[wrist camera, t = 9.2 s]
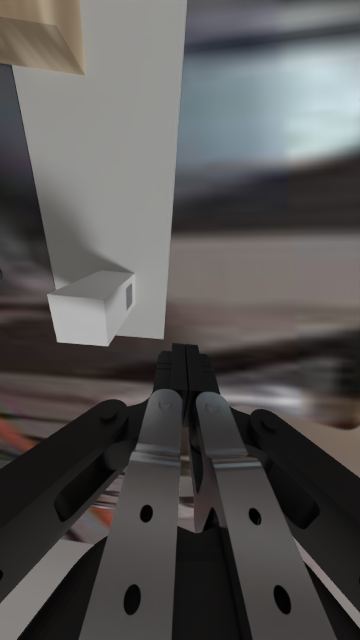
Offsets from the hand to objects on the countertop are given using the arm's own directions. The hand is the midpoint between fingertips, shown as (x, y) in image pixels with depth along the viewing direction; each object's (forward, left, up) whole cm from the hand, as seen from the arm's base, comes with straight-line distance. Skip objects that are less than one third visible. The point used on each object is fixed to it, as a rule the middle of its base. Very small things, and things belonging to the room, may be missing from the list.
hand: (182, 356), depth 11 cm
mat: (+9, -10, -14) cm, 19 cm away
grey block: (+8, 0, -14) cm, 16 cm away
